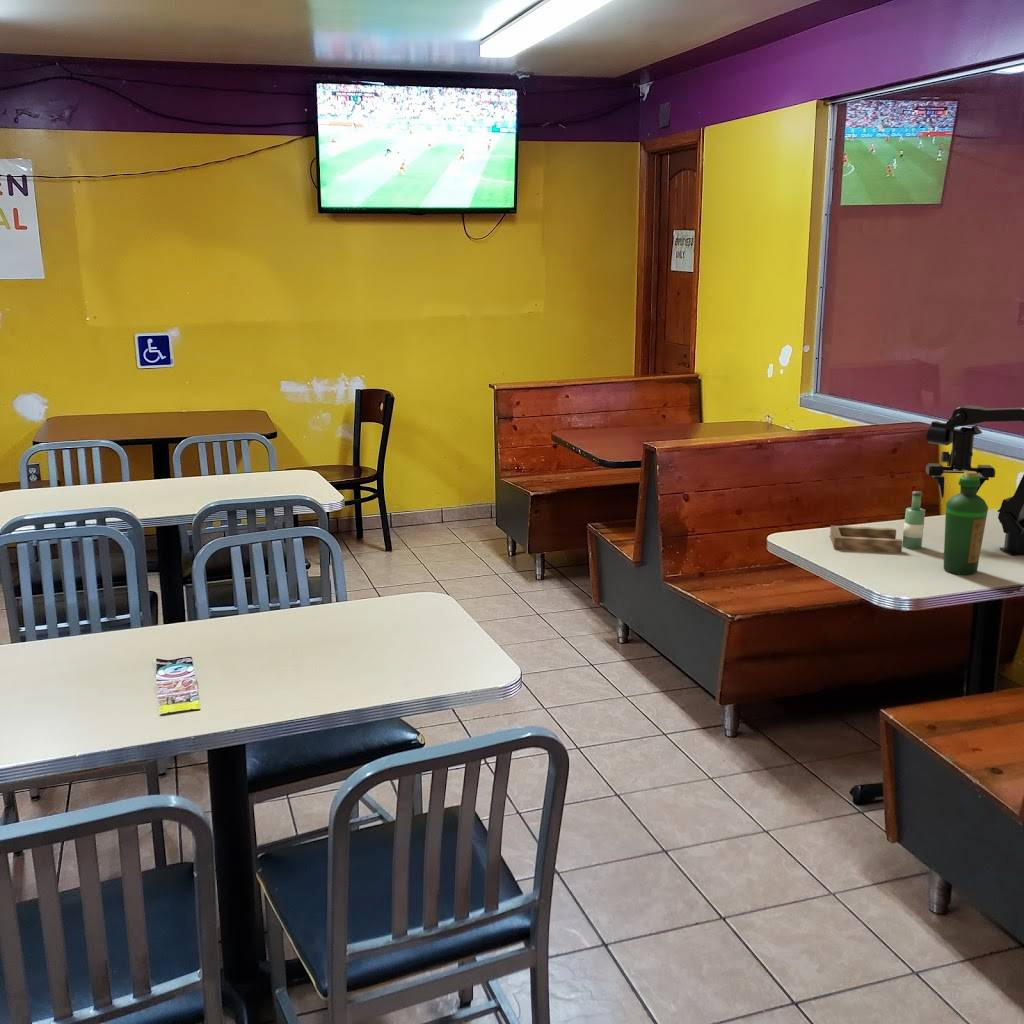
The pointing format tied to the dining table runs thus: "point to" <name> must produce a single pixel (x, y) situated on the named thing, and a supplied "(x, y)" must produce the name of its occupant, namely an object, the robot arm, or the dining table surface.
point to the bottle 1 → (914, 523)
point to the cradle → (865, 539)
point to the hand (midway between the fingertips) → (957, 498)
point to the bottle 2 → (964, 527)
